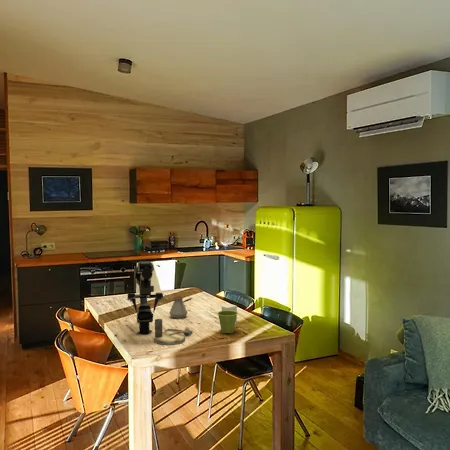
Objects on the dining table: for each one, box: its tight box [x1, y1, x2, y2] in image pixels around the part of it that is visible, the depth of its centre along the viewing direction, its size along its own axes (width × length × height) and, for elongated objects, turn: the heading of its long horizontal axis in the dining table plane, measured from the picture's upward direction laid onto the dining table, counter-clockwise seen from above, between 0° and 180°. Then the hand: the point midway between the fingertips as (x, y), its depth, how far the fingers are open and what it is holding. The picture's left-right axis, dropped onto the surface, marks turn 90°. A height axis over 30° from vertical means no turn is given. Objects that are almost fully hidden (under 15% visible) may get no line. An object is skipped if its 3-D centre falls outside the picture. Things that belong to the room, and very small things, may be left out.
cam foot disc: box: [154, 318, 191, 343], centre depth 254 cm, size 21×16×10 cm
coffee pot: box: [169, 296, 193, 319], centre depth 296 cm, size 21×12×15 cm, turn 38°
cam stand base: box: [153, 328, 193, 346], centre depth 255 cm, size 23×17×2 cm
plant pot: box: [216, 310, 239, 334], centre depth 267 cm, size 12×12×11 cm
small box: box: [221, 303, 238, 323], centre depth 287 cm, size 8×6×10 cm
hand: (145, 312), depth 248 cm, fingers open, 9 cm apart
